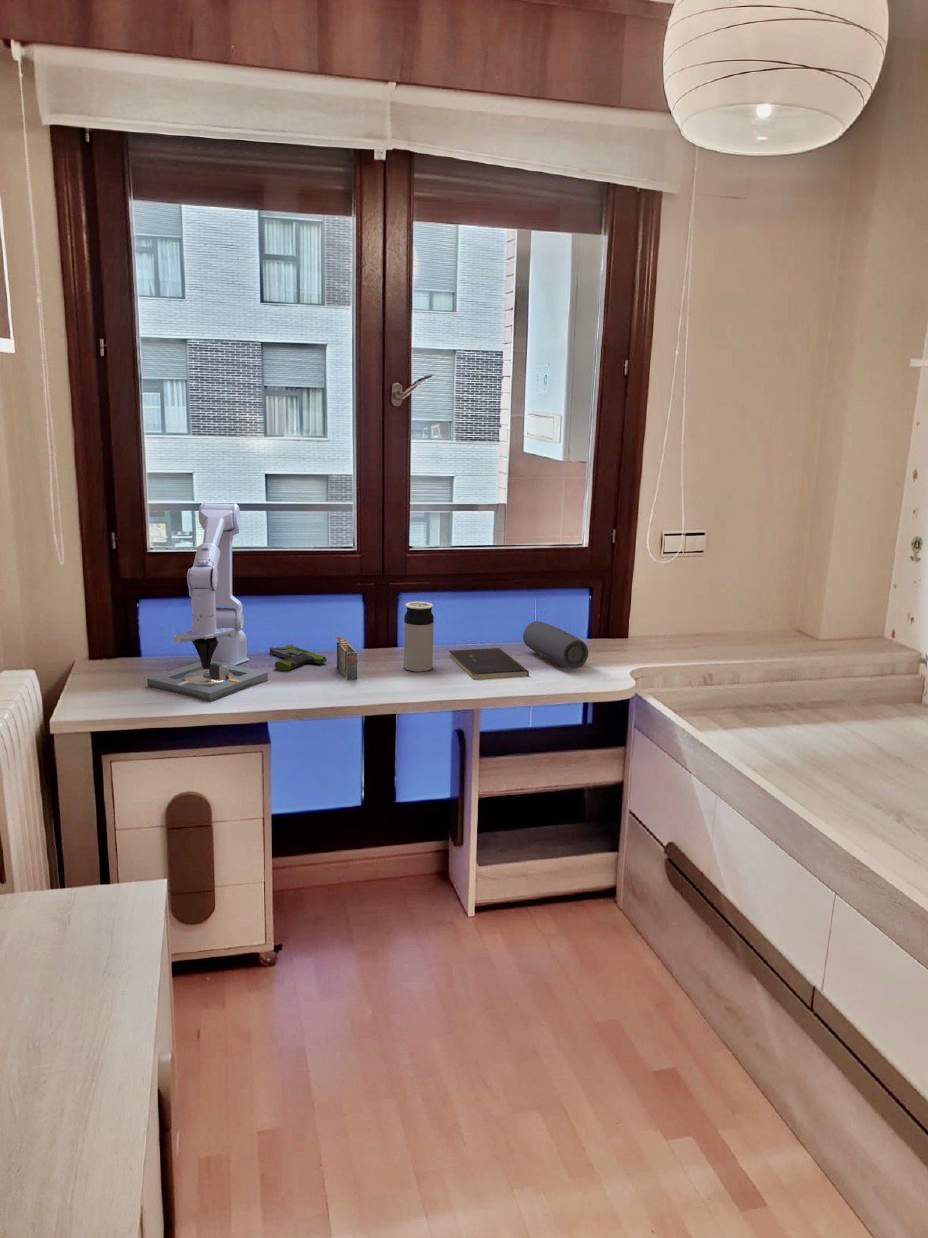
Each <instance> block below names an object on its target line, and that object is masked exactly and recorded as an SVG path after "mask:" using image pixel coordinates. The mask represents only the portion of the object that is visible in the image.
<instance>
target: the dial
mask: <svg viewBox="0 0 928 1238" xmlns="http://www.w3.org/2000/svg"><path fill="white" fill-rule="evenodd" d="M229 679H233V675H232V673H230V672H229V666H226V665H220V664H214V663H212V664H210V668H209V669H206V670H198V671H193V672H190V673H188V674H186V675H185V676H184V681H187V682H190V683H194V684H198V685H203V686H207V687H210V686H214V685H217V684H219V683H222V682H225V681H228V680H229Z"/></svg>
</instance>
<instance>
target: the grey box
mask: <svg viewBox="0 0 928 1238" xmlns="http://www.w3.org/2000/svg"><path fill="white" fill-rule="evenodd" d="M335 637H336V639H338V641H337V642H336V668H337V669H338V671H339V672H340V673H341V674H342V675H343V676H344V678H345V679H346V680H347V681H348V680H350V681H351V680H357V679H358V652H357V651H356V650H355V649H354V648H353V646H351V644H349V643H348V642H347V640H346V638H343V637H340V636H338V635H335Z"/></svg>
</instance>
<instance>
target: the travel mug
mask: <svg viewBox="0 0 928 1238" xmlns="http://www.w3.org/2000/svg"><path fill="white" fill-rule="evenodd" d="M404 605H405V607H406V608H405V609H406V612H405V613H404V618H403V620H404V621H403V622H404V623H403V628H404V629H403V668H404V669H405V670H407V671H409V672H414V673H415V672H416V673H419V672H420V673H422V672H427V671H428V672H429V671H430V670H432V669H433V665H434V663H433V662H434V660H433V657H434V624H435V623H434V619H435V617H434V614H433V612H432V609H433V607H434V605H433V603H431V602H427V601H410V602H406V603H405V604H404Z"/></svg>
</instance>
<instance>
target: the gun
mask: <svg viewBox="0 0 928 1238" xmlns="http://www.w3.org/2000/svg"><path fill="white" fill-rule="evenodd" d="M269 654H270V655H275V656H276V657H277V656H278V657H280V658H284V659H280V660H277V661H276V662H275V663H274V668H275V669H276V670H277V671H280V672H283V671H284V672H285V671H288V670H292V669H295V668H297V667H299V666H301V665H303V664H305V663H307V664H308V663H309V664H310V663H311V664H320V665H321V664H324V662H327V659H328V658H327V657H325V656H323V655H321V654H320V655H319V654H317V653H315V652H311V651H308V650H305V649H302V648H299V647H296V646H294V645H293V644H288V645H285V646H279V647H278V646H277V647H272V646H271V647H269Z"/></svg>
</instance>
